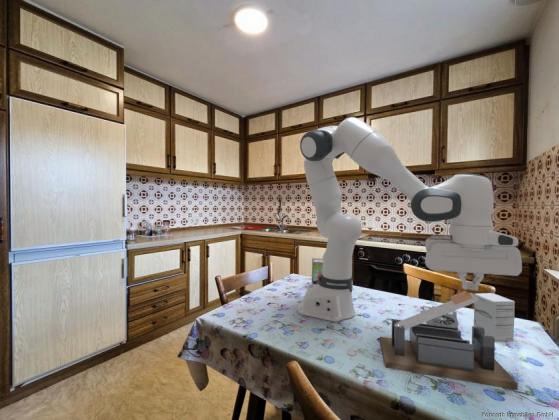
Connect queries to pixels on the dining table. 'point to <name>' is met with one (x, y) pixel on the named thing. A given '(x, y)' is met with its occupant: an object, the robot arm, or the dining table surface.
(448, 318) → the graphics card
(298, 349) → the dining table surface
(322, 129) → the robot arm
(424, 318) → the bar
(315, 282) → the tea box
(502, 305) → the supplement box
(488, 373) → the heatsink board
